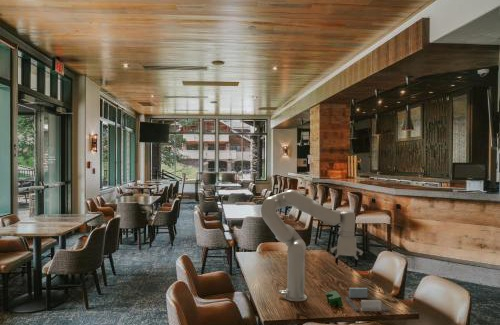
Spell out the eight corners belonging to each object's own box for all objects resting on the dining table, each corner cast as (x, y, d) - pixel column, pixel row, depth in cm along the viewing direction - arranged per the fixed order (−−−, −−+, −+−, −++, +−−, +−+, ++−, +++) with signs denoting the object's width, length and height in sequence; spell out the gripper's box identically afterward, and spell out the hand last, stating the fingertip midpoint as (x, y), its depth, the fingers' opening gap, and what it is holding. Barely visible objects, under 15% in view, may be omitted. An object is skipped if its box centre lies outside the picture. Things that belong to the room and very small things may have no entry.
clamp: (329, 310, 224) (324, 293, 228) (340, 307, 224) (335, 290, 228) (332, 308, 213) (327, 290, 217) (343, 305, 213) (338, 288, 217)
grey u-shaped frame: (355, 311, 210) (356, 301, 210) (344, 299, 230) (345, 290, 230) (387, 311, 211) (387, 301, 211) (374, 299, 231) (374, 290, 231)
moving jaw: (350, 297, 232) (350, 288, 232) (348, 296, 234) (349, 287, 234) (367, 297, 232) (367, 288, 232) (366, 296, 234) (366, 287, 234)
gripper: (330, 234, 223) (329, 265, 223) (364, 236, 219) (362, 268, 219) (331, 232, 230) (330, 262, 230) (363, 234, 226) (362, 265, 226)
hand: (346, 265), depth 224 cm, fingers open, 9 cm apart
